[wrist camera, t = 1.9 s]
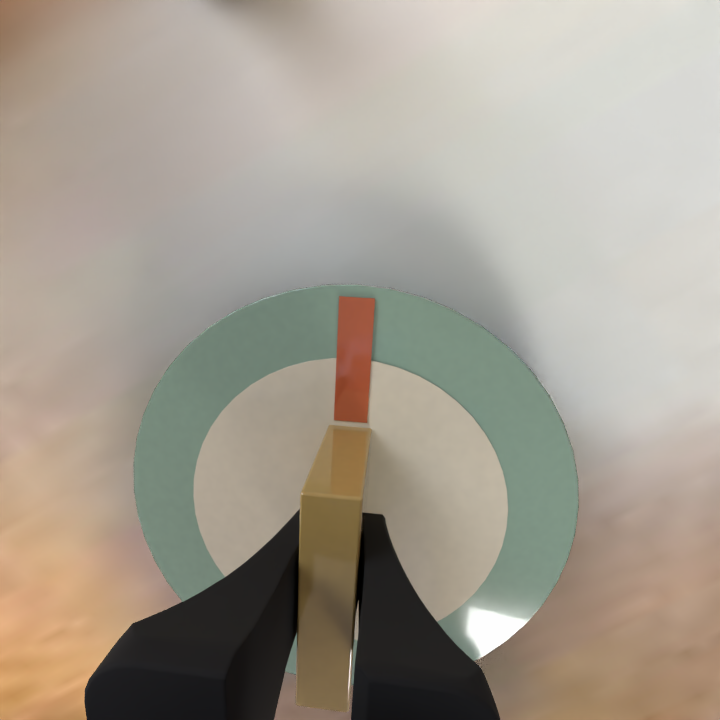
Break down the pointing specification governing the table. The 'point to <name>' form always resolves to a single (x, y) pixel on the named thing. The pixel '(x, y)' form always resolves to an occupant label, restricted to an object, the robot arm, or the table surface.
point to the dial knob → (359, 466)
